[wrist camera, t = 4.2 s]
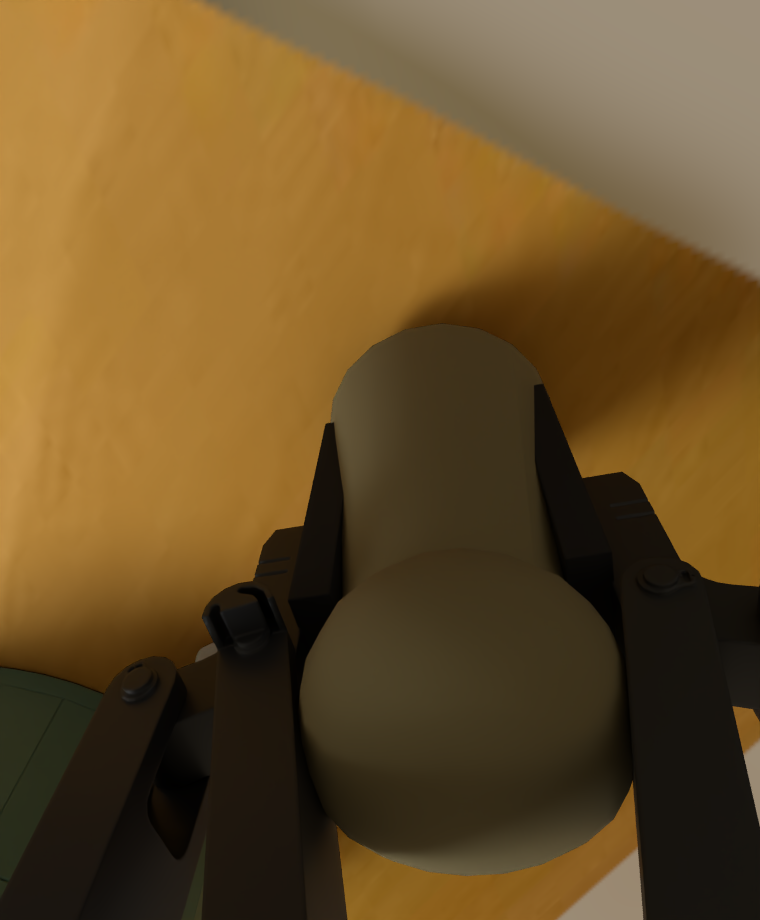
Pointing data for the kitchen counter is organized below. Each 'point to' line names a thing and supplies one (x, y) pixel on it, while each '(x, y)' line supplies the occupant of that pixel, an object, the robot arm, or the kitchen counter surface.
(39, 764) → the green round bowl
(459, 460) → the cork
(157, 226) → the kitchen counter surface
